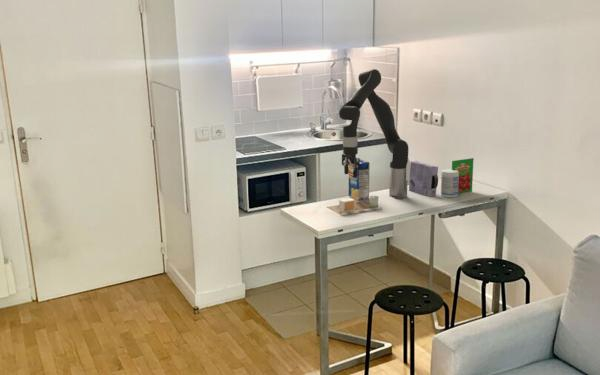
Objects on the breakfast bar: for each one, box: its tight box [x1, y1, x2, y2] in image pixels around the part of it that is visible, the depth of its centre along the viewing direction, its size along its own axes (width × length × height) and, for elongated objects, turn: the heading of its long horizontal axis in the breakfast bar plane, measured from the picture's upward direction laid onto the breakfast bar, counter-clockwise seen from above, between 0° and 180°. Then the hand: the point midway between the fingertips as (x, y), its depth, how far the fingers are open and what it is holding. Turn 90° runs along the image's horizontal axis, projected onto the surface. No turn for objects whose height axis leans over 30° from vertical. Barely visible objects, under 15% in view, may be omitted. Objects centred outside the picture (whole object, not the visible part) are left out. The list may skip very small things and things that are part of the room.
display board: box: [326, 200, 383, 217], centre depth 346 cm, size 24×18×2 cm
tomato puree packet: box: [451, 157, 474, 195], centre depth 372 cm, size 15×1×20 cm, turn 116°
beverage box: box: [348, 158, 370, 202], centre depth 363 cm, size 7×11×22 cm, turn 26°
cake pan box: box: [408, 160, 439, 198], centre depth 374 cm, size 19×5×18 cm, turn 34°
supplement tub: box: [440, 168, 459, 199], centre depth 368 cm, size 10×10×15 cm
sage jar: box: [369, 195, 379, 208], centre depth 345 cm, size 4×4×6 cm
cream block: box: [338, 197, 356, 213], centre depth 340 cm, size 7×5×6 cm, turn 116°
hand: (350, 175), depth 338 cm, fingers open, 8 cm apart
